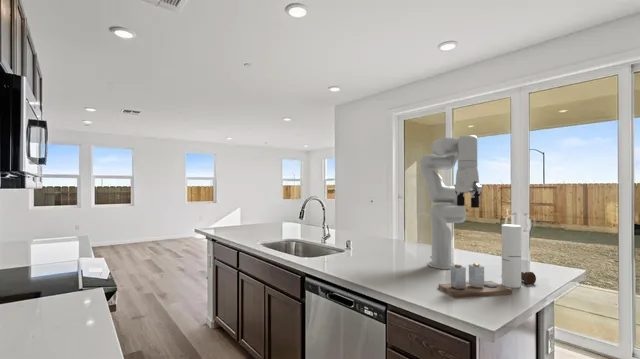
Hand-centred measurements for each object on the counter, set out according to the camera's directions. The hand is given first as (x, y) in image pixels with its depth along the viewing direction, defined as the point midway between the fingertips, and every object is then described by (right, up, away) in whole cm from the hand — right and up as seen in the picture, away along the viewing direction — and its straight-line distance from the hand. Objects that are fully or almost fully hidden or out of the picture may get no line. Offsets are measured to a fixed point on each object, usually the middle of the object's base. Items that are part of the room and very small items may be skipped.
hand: (467, 206), depth 140 cm
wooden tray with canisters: (0, -33, -6) cm, 34 cm away
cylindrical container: (+19, -33, +2) cm, 38 cm away
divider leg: (+1, -31, -6) cm, 32 cm away
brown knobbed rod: (+26, -33, +10) cm, 44 cm away
